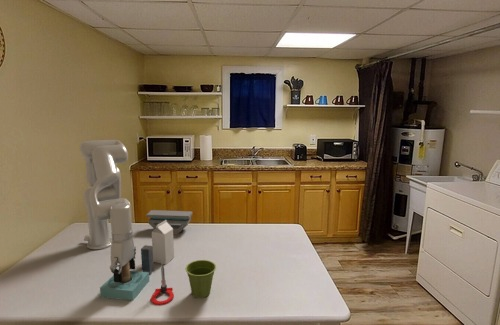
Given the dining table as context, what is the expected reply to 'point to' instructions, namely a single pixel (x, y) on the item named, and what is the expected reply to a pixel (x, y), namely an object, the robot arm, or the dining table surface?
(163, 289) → the tow hook
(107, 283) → the bore block
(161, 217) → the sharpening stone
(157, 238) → the milk carton
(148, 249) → the steel square bar
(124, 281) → the walnut dowel
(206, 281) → the plant pot
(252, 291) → the dining table surface
